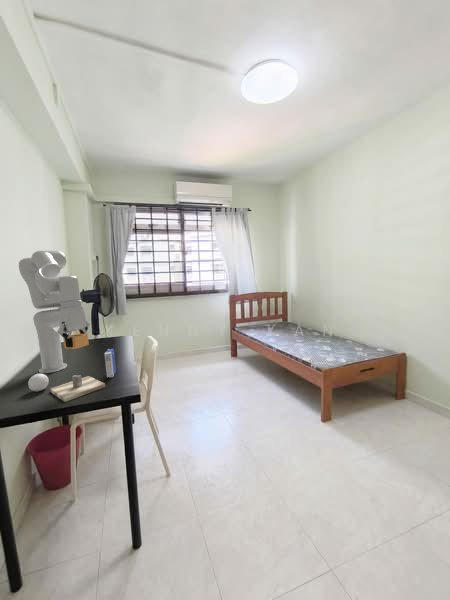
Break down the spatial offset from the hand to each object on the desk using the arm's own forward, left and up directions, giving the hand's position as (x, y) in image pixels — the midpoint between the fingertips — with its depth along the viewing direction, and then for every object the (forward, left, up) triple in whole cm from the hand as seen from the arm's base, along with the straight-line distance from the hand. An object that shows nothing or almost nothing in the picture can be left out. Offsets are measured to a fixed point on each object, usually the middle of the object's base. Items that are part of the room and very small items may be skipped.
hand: (76, 344), depth 118 cm
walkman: (0, +14, -19) cm, 23 cm away
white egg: (-9, -14, -19) cm, 25 cm away
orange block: (0, 0, -1) cm, 1 cm away
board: (+4, -3, -18) cm, 19 cm away
